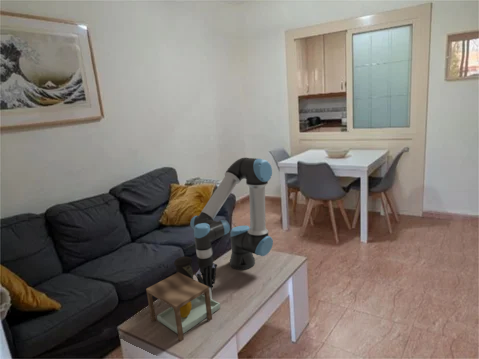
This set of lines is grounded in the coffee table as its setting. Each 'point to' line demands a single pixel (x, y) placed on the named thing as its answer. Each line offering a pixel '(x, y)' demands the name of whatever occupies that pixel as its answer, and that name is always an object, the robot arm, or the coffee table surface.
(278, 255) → the coffee table surface
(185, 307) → the apple
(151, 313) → the riser
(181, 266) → the container
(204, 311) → the tray
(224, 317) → the coffee table surface
